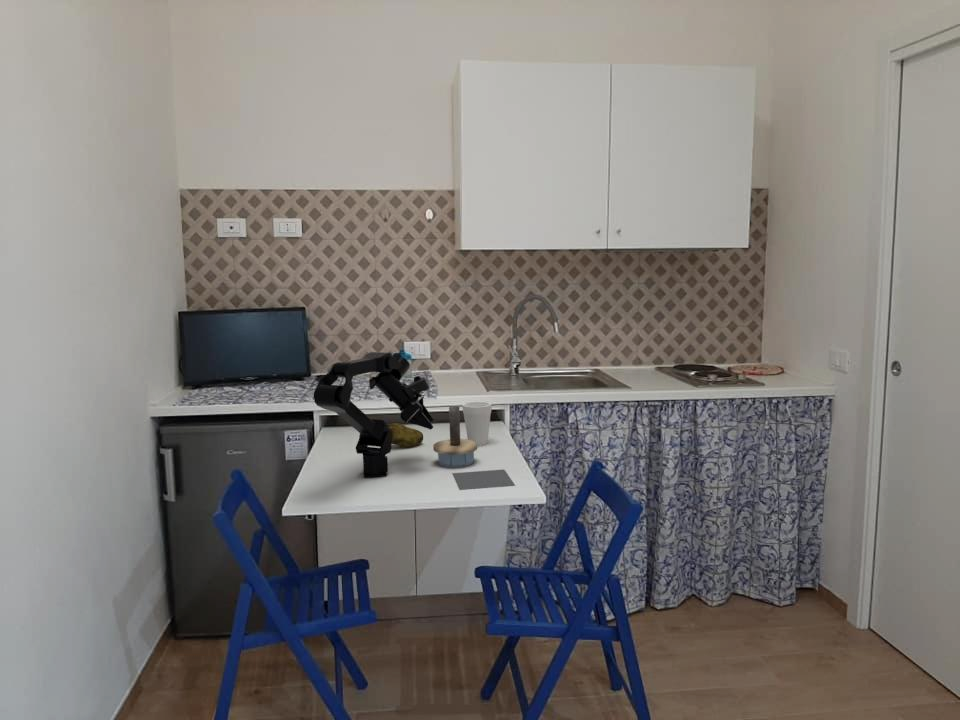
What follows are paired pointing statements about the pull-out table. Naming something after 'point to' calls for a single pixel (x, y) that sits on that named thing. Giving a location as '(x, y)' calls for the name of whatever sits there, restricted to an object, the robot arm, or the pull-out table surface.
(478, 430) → the foam cup
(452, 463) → the bowl
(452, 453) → the paper towel holder
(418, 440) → the potato
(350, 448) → the pull-out table surface
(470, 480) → the mat
